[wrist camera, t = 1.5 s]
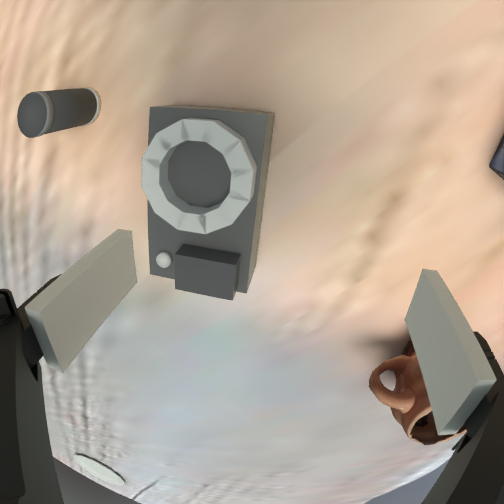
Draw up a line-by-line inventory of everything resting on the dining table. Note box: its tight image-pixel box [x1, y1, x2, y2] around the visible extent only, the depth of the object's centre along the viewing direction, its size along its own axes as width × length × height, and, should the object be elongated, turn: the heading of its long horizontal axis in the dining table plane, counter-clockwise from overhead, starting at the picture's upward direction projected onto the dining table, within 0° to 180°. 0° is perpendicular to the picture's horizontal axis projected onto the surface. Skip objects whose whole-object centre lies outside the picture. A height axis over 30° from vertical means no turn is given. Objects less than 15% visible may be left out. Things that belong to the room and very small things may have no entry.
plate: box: [74, 455, 125, 486], centre depth 87 cm, size 21×21×2 cm
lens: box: [17, 88, 101, 138], centre depth 29 cm, size 5×5×10 cm
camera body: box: [142, 105, 275, 301], centre depth 32 cm, size 18×11×8 cm, turn 174°
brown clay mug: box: [369, 340, 467, 445], centre depth 35 cm, size 20×12×14 cm, turn 81°
